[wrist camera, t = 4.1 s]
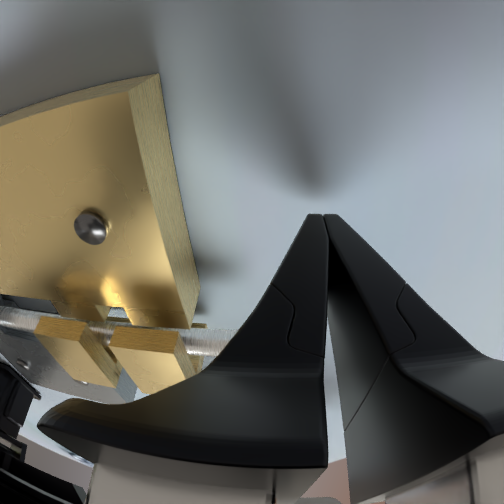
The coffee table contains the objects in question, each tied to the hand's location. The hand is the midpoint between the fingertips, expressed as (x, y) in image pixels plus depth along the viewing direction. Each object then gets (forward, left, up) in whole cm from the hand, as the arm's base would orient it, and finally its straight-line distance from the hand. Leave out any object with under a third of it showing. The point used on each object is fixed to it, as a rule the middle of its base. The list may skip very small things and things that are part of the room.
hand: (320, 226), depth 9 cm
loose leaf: (-9, -1, -1) cm, 9 cm away
